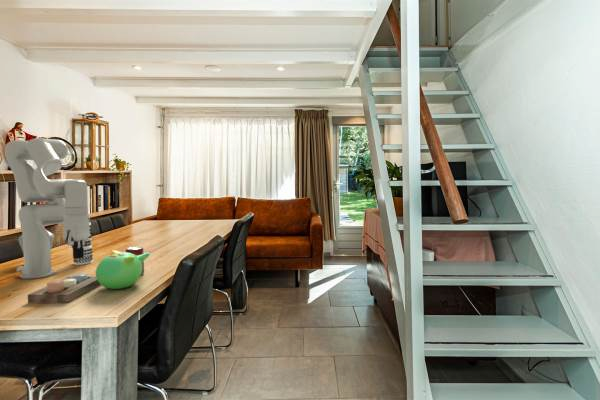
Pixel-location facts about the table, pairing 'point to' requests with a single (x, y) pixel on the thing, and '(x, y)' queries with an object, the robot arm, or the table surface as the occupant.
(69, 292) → the brown wooden tray
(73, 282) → the cream button
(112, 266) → the green rounded body
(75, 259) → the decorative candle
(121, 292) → the table surface
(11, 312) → the table surface
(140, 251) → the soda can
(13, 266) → the table surface
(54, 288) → the terracotta button
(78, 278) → the slate-blue button
